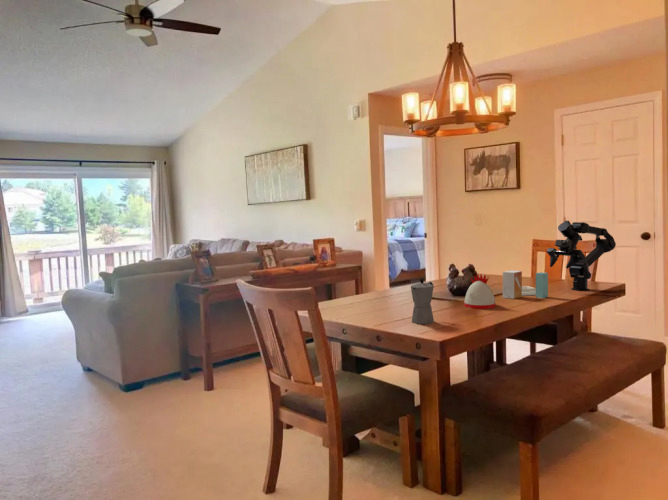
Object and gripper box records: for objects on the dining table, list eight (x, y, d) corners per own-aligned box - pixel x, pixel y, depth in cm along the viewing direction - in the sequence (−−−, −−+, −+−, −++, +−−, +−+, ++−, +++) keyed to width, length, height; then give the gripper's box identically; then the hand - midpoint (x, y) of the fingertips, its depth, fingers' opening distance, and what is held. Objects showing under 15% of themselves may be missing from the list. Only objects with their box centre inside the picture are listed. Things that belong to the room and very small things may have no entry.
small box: (514, 299, 255) (514, 272, 254) (502, 297, 259) (502, 271, 258) (522, 296, 260) (522, 270, 259) (510, 295, 265) (510, 270, 264)
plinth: (529, 290, 276) (529, 285, 276) (541, 294, 264) (541, 288, 264) (507, 292, 274) (507, 286, 274) (518, 295, 263) (518, 290, 262)
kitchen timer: (490, 309, 232) (489, 276, 231) (460, 307, 240) (459, 275, 239) (498, 304, 244) (498, 272, 243) (470, 302, 251) (469, 271, 250)
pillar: (540, 296, 260) (540, 272, 259) (547, 297, 256) (547, 273, 255) (535, 297, 258) (535, 273, 257) (542, 298, 254) (542, 273, 253)
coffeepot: (424, 326, 206) (423, 281, 204) (404, 323, 212) (403, 279, 210) (443, 319, 217) (442, 276, 216) (423, 316, 223) (422, 275, 222)
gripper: (547, 232, 272) (534, 257, 268) (580, 233, 256) (567, 259, 252) (557, 245, 277) (545, 269, 273) (590, 247, 261) (578, 272, 257)
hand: (558, 267), depth 263 cm, fingers open, 9 cm apart
